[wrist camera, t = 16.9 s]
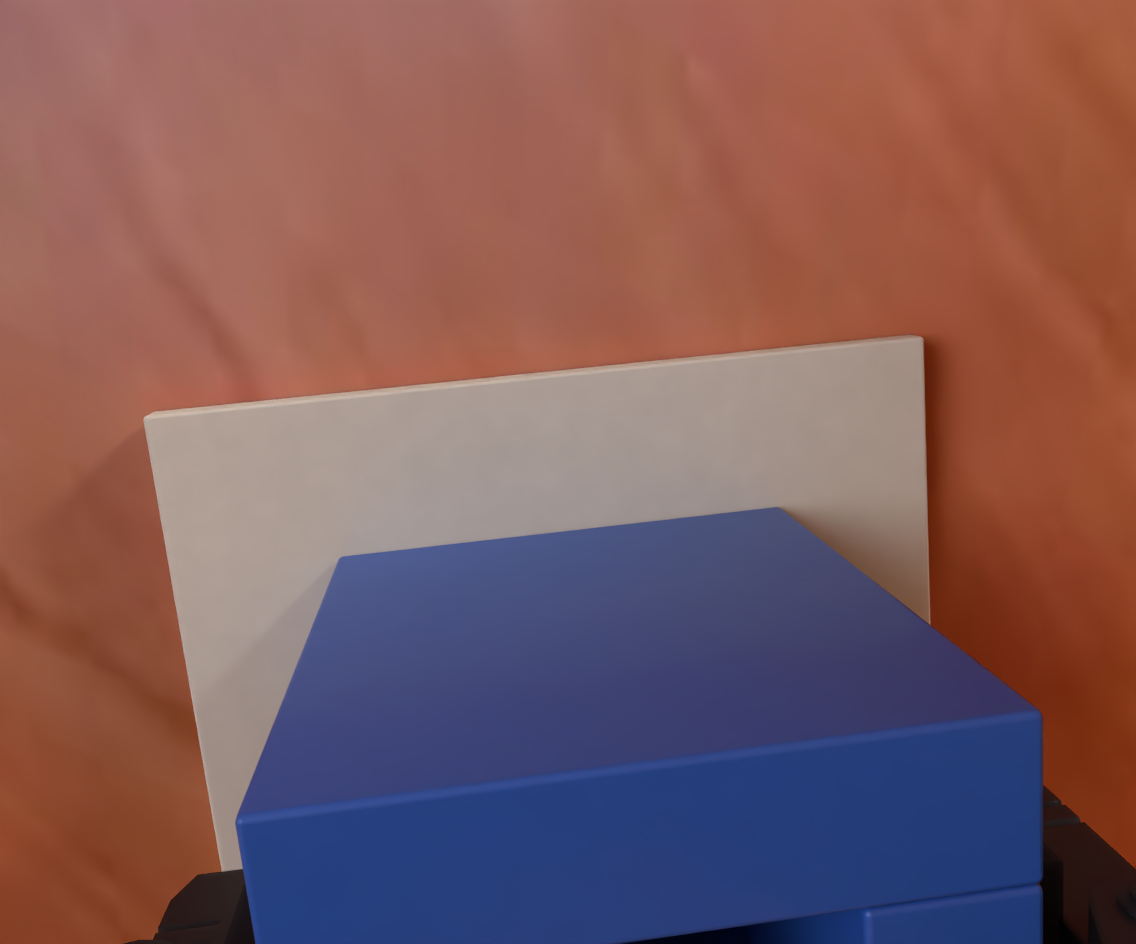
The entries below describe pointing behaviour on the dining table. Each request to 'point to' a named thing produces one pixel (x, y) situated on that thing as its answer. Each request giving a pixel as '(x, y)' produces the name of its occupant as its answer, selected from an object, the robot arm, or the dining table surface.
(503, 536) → the felt mat
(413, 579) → the blue collar
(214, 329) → the dining table surface
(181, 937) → the robot arm
